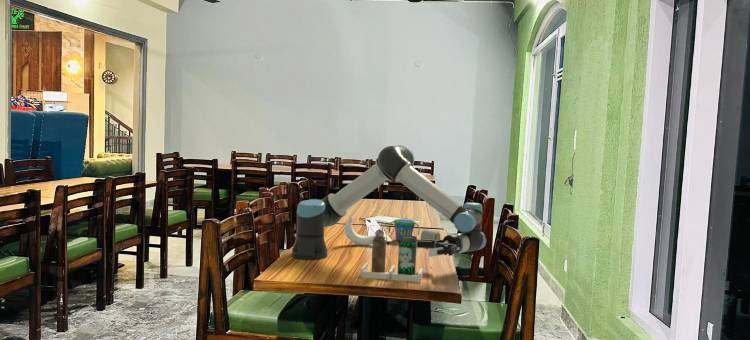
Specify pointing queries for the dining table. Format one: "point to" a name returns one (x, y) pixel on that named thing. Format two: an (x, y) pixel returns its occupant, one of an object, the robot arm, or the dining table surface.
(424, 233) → the ceramic mug
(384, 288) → the dining table surface
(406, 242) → the can
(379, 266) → the pepper mill
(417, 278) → the caddy
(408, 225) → the snack cup
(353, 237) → the white curved horn
